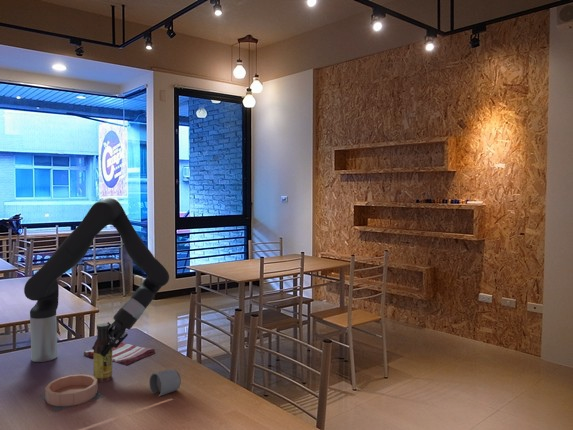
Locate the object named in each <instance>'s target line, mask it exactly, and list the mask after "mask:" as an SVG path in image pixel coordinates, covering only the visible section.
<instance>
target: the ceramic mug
mask: <svg viewBox="0 0 573 430" xmlns="http://www.w3.org/2000/svg"><path fill="white" fill-rule="evenodd" d="M181 382H182V381H181V376H180V373H179V371H178V370H176V369H174V368H173V369H165V370H162V371H157V372H154V373H152V374H151V375H150V377H149V390H150V392H151V393H152V394H155V393H158V392H160V394H159V395H158V396H157V397H162V396H164V395H167V394H171V393H173V392H175V391H177V390H179V388H180V386H181V384H182V383H181Z"/></svg>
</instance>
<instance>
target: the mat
mask: <svg viewBox="0 0 573 430" xmlns="http://www.w3.org/2000/svg"><path fill="white" fill-rule="evenodd" d="M40 397H41V398H42V399H43V400H44V401H45V402H46V403H47V401H46V399H45V393H42V394H40ZM102 398H105V396H104V395H103V394H102V393H101V392H99V391H98V390H97V394H96V396H95V397H94V398H92V399H91V400H89V401H87V402H85V403H84V404H86V403H88V402H92V401H96V400H99V399H102ZM48 405H49V406H50V408H51V409H52V410H53V411H54V412H56V413H57V412H59V411H63V410H65V409H68V408H72V407H75V406H79V405H80V404H78V405H74V406H67V407H57V406H52V405H50V404H48Z"/></svg>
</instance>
